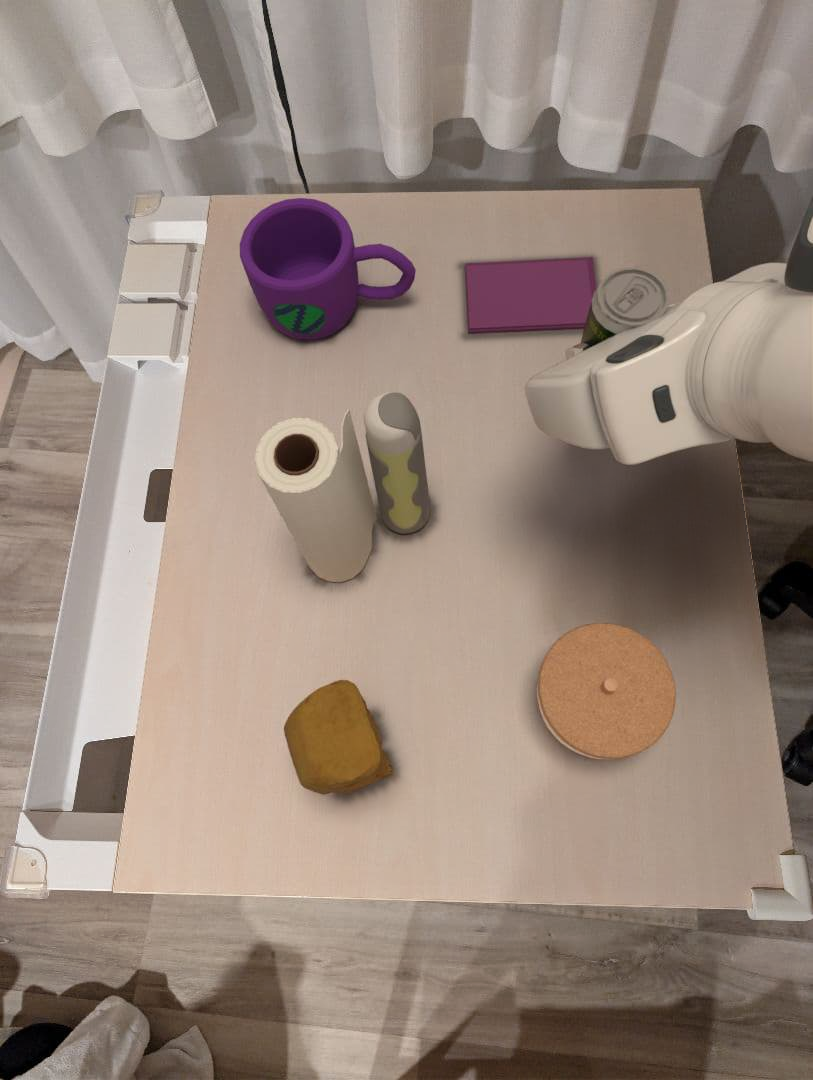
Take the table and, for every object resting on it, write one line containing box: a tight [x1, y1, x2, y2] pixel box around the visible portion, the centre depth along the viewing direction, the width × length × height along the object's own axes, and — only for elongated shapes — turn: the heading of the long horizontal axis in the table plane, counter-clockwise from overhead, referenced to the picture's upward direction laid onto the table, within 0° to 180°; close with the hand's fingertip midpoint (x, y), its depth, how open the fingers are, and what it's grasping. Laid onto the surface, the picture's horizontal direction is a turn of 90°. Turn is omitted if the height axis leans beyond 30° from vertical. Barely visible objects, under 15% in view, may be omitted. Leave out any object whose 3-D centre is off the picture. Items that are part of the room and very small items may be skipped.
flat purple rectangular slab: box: [464, 256, 597, 334], centre depth 83 cm, size 14×9×1 cm, turn 91°
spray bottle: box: [363, 391, 431, 535], centre depth 66 cm, size 5×5×20 cm
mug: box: [239, 197, 417, 341], centre depth 80 cm, size 17×11×10 cm, turn 87°
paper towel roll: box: [254, 408, 377, 583], centre depth 65 cm, size 7×6×21 cm
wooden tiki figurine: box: [283, 679, 394, 796], centre depth 61 cm, size 7×6×15 cm
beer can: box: [580, 266, 671, 346], centre depth 59 cm, size 5×5×12 cm
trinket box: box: [536, 622, 677, 760], centre depth 64 cm, size 11×11×9 cm
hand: (611, 337), depth 59 cm, fingers closed on beer can, 5 cm apart
